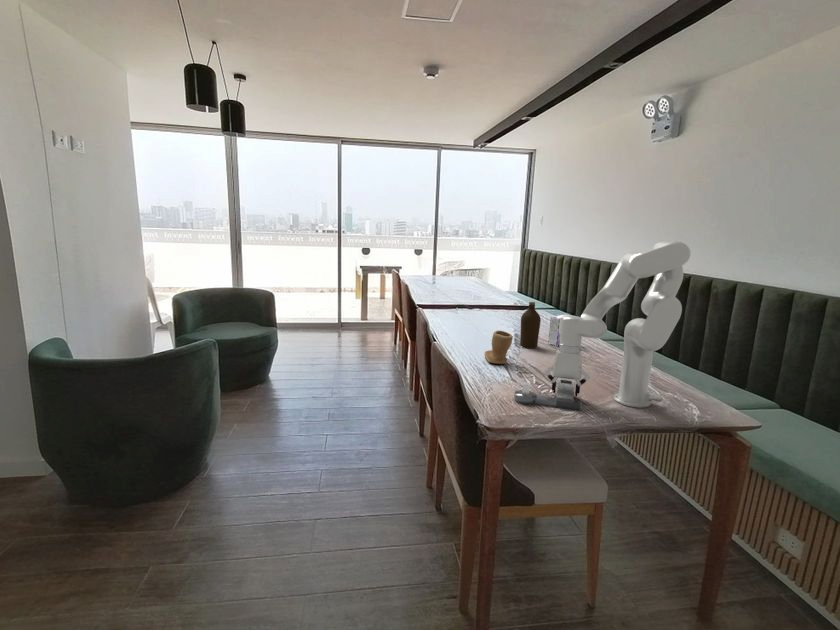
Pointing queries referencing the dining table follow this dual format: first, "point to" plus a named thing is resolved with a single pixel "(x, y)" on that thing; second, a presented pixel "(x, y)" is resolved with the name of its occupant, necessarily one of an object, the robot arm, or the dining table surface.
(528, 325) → the olive oil
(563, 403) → the ratchet
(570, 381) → the socket
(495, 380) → the dining table surface
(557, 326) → the candy box
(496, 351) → the tan boot
